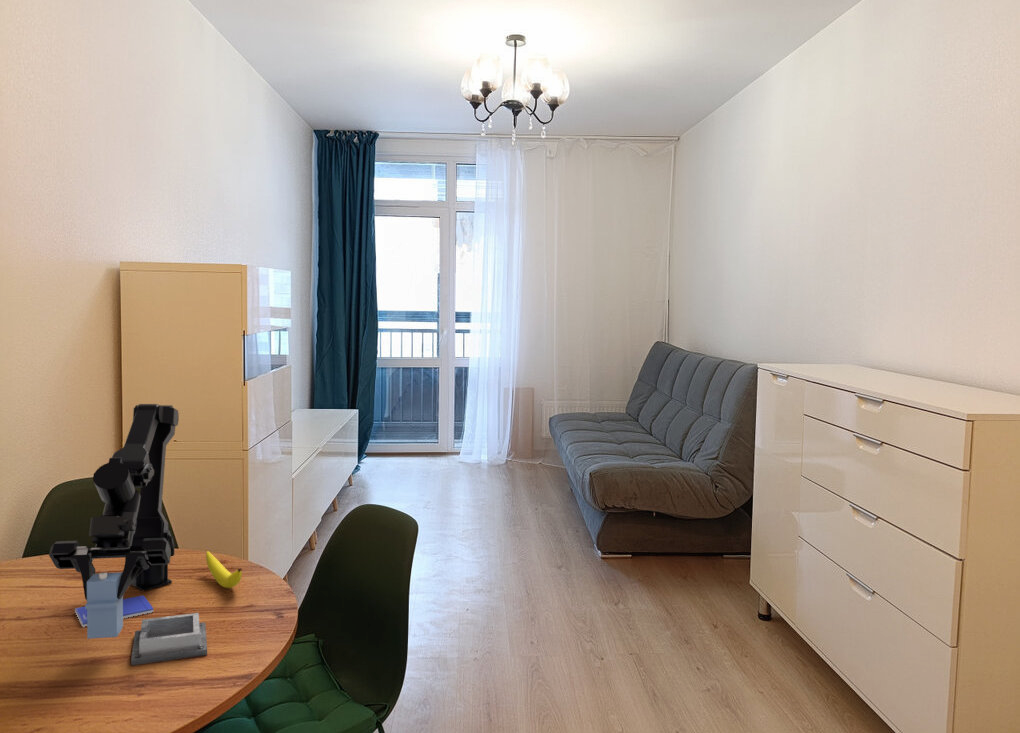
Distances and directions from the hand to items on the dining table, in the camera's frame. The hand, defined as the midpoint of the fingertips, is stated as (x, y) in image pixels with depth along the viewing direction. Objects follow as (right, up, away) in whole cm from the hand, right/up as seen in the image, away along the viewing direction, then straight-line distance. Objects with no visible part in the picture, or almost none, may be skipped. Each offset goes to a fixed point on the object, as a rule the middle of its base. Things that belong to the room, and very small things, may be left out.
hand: (102, 598), depth 131 cm
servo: (-1, -6, +2) cm, 7 cm away
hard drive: (-8, -9, +20) cm, 23 cm away
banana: (+7, -8, +36) cm, 37 cm away
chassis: (+9, -10, +7) cm, 15 cm away
